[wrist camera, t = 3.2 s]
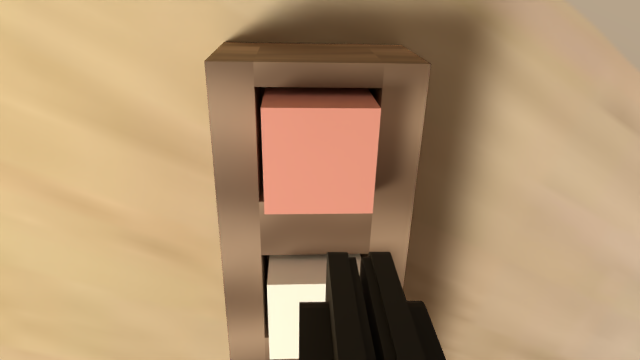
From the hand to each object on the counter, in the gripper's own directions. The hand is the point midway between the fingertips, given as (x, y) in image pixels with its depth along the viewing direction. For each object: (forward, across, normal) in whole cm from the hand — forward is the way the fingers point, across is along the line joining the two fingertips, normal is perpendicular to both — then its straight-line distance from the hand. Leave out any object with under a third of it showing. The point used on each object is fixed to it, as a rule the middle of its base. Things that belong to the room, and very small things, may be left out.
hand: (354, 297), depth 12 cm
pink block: (+12, +1, 0) cm, 13 cm away
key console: (+17, +1, +8) cm, 19 cm away
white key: (+13, +1, +8) cm, 15 cm away
